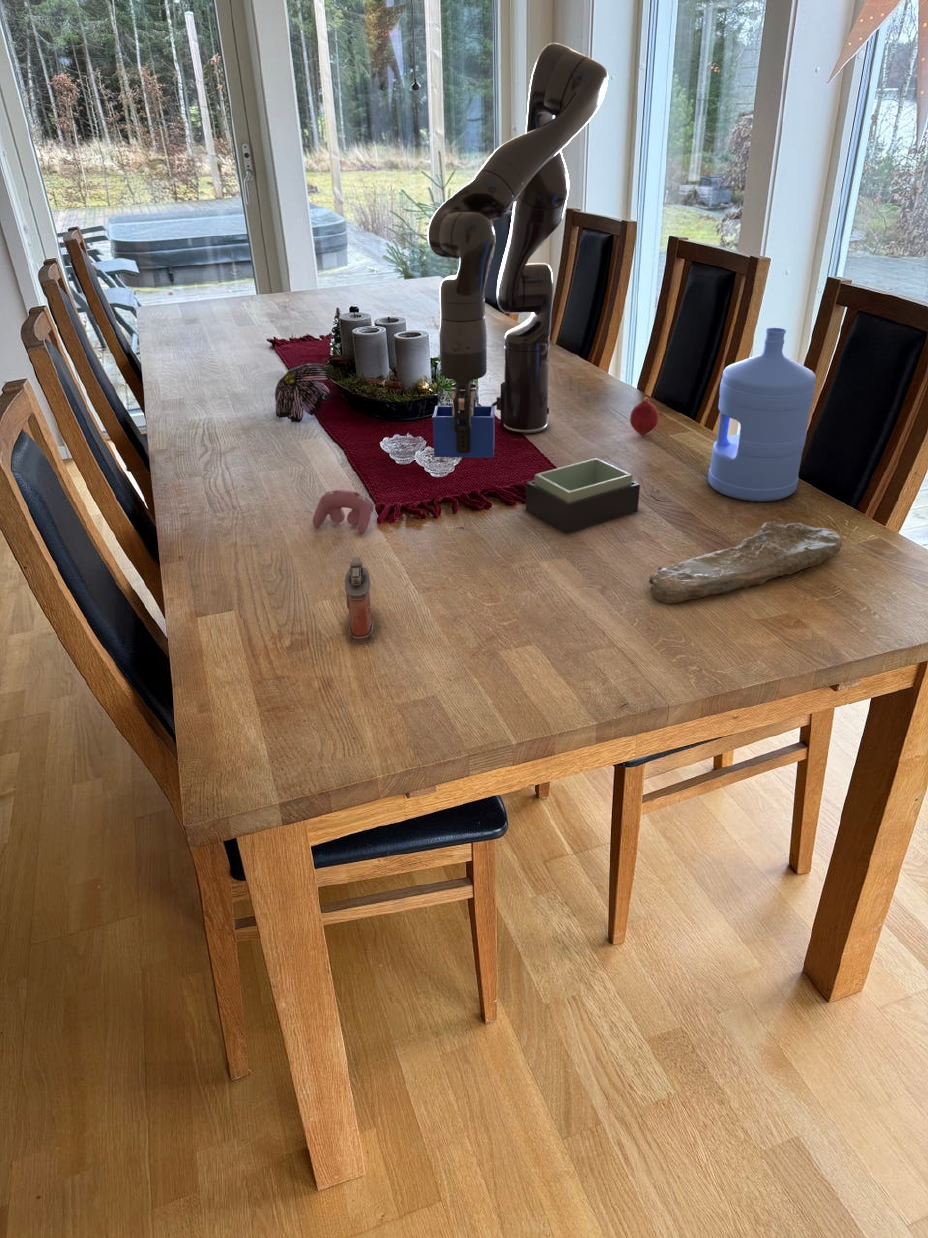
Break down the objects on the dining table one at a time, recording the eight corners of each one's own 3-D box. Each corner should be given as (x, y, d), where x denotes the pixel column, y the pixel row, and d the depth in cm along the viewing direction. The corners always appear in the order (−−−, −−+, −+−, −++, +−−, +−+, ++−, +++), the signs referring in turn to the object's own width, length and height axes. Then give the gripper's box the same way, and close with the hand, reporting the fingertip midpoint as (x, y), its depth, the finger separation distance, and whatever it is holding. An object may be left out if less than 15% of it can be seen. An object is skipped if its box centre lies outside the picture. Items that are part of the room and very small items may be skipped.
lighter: (350, 613, 128) (343, 550, 123) (373, 611, 128) (368, 549, 123) (348, 643, 121) (341, 578, 116) (373, 642, 121) (368, 577, 116)
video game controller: (373, 535, 153) (378, 494, 152) (362, 534, 148) (367, 492, 148) (321, 527, 156) (326, 487, 155) (309, 526, 151) (314, 485, 150)
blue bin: (434, 457, 151) (432, 416, 147) (436, 444, 155) (435, 405, 152) (493, 457, 150) (493, 417, 146) (494, 445, 155) (494, 405, 151)
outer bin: (566, 534, 148) (567, 505, 146) (525, 510, 157) (526, 482, 154) (637, 511, 155) (640, 484, 153) (595, 489, 164) (596, 463, 161)
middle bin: (567, 527, 149) (569, 492, 146) (533, 507, 156) (534, 474, 153) (629, 508, 155) (632, 474, 152) (594, 489, 162) (596, 457, 159)
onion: (656, 440, 185) (660, 402, 181) (628, 439, 186) (631, 401, 182) (656, 431, 190) (660, 393, 185) (629, 429, 191) (632, 392, 186)
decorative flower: (252, 368, 201) (312, 341, 203) (269, 408, 210) (327, 382, 212) (272, 403, 192) (335, 374, 194) (289, 443, 201) (349, 415, 203)
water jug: (801, 476, 167) (830, 323, 152) (789, 509, 155) (819, 345, 140) (716, 465, 173) (737, 315, 158) (699, 495, 161) (719, 336, 146)
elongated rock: (631, 592, 134) (672, 625, 127) (633, 562, 131) (676, 594, 124) (808, 531, 146) (855, 559, 139) (814, 502, 143) (863, 529, 136)
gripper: (484, 358, 137) (485, 461, 146) (488, 333, 149) (488, 430, 158) (436, 357, 137) (439, 461, 146) (443, 333, 150) (445, 430, 158)
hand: (464, 444), depth 152 cm, fingers closed on blue bin, 5 cm apart
